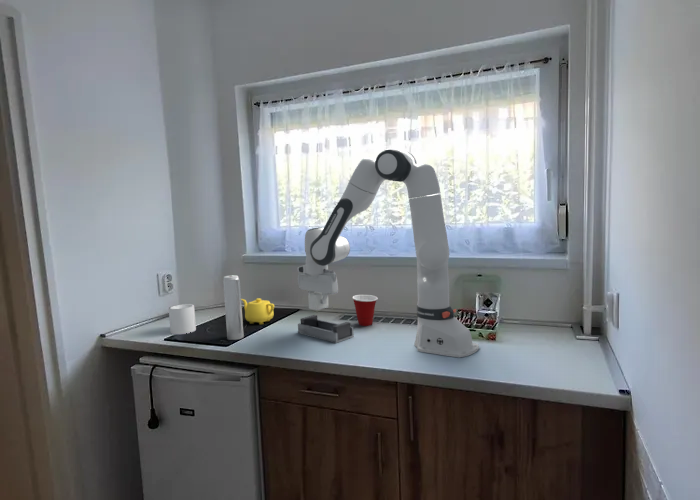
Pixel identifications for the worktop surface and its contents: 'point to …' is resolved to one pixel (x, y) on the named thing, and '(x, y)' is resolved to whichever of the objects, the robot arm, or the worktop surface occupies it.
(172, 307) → the mug
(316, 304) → the block
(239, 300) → the silver cylinder
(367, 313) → the plastic cup
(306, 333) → the grey rectangular tray
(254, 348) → the worktop surface
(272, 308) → the teapot
